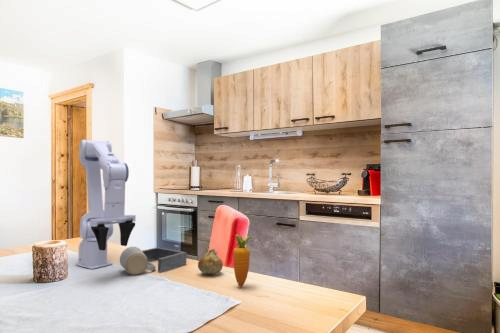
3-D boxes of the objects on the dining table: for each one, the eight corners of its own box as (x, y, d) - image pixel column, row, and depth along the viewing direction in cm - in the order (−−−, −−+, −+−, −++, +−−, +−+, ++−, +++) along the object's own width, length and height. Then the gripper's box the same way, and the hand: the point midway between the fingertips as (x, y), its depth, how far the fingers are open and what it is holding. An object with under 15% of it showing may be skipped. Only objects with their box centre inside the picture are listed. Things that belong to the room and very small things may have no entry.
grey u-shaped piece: (130, 266, 115) (130, 253, 116) (157, 258, 126) (157, 247, 126) (160, 272, 108) (160, 259, 108) (186, 264, 119) (186, 252, 119)
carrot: (251, 285, 97) (252, 233, 97) (246, 291, 92) (247, 236, 93) (235, 283, 99) (236, 232, 99) (229, 289, 94) (230, 235, 94)
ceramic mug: (124, 277, 103) (126, 252, 103) (118, 271, 109) (120, 247, 110) (158, 273, 108) (159, 249, 109) (151, 267, 115) (152, 244, 116)
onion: (194, 272, 109) (194, 248, 109) (217, 270, 113) (217, 246, 113) (202, 279, 102) (202, 253, 102) (226, 276, 106) (226, 250, 106)
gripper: (101, 205, 93) (100, 254, 93) (142, 202, 106) (141, 245, 105) (86, 203, 97) (84, 250, 97) (127, 200, 109) (126, 242, 109)
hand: (113, 247), depth 101 cm, fingers open, 7 cm apart
